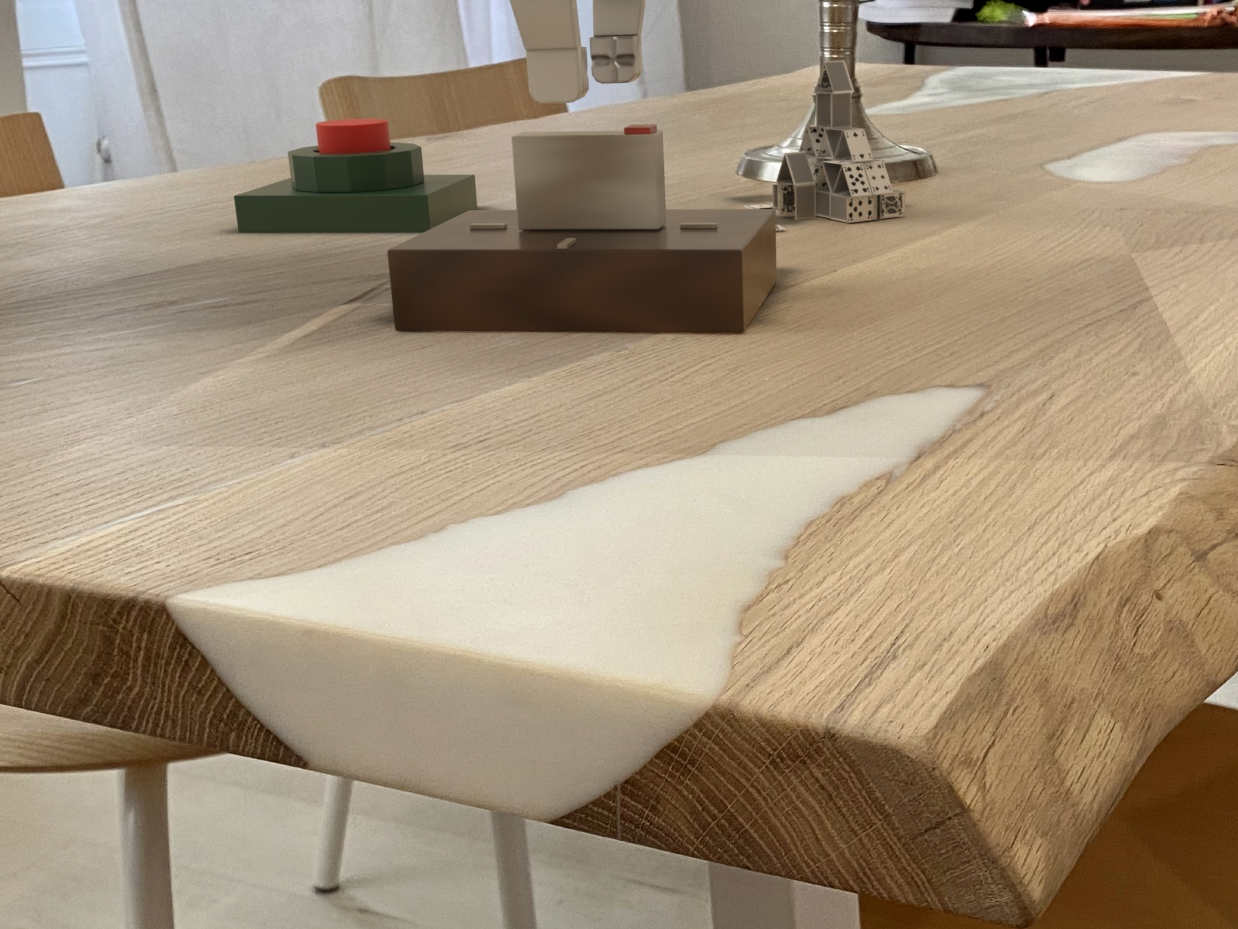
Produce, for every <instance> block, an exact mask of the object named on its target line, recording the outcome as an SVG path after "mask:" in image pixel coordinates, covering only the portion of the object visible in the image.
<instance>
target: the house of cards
mask: <svg viewBox="0 0 1238 929" xmlns="http://www.w3.org/2000/svg"><path fill="white" fill-rule="evenodd" d="M854 92H855V90H854V87H853V83H852V80H851V77H850V74H849V71H848V67H847V64H846V60H845V59H839V60H824V61H823V63H822V67H821V70H820V74H819V76H818V80H817V83H816V87H815V90H814V93H815V124H810V125H806V127H805V130H804V134H803V137H802V140H801V143H800V146H799V150H798V151H792V152H791V151H790V152H784V154H783V156H782V161H781V164H780V167H779V171H778V173H777V178H776V183H774V184H772V203H764V204H749V205H748V204H747V205H743V207H744V208H745V209H770V208H772V209H774V210H775V209H777V210H779V217H790V216H794V220H795V221H796V220H802V219H803V220H805V219H814V218H816V217H821V218H827V219H829V220H834V221H839V222H843V223H846V224H850V223H858V222H859V223H860V222H867V221H878V220H882V219H888V218H889V219H890V218H898V217H899V218H900V217H905V216H906V190H901V189H895V188H893V186H892V183H891V180H890V176H889V174H888V170H887V166H886V164H885V160H884V159H876V158H874V156H873V153H872V150H871V146H870V143H869V140H868V137H867V134H866V131H865V130H866V129H865V128H861V127H852V93H854ZM776 231H787V229H786V228H785V227H783V226H782V225H780V224H776Z"/></svg>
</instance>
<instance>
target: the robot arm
mask: <svg viewBox="0 0 1238 929" xmlns="http://www.w3.org/2000/svg"><path fill="white" fill-rule="evenodd" d="M646 1H647V0H592V34H593V35H592V36H590V37H589V53H590V60H591V64H590V69H591V76H592V78H593V79H594V81H595V82H596V83H599V84H601V85H602V84H604V85H608V84H629V83H633V82H635V81H636V80H638V79H639V78H641V75H642V73H643V55H642V54H643V53H642V31H643V24H644V15H645V8H646ZM509 3H510V7H511V9H512V12H513V16H514V19H515V23H516V26H517V29H518V32H519V35H520V38H521V41H522V42H521V43H522V45H523V49H524V50H525V57H526V58H525V59H526V69H527V70H526V71H527V81H528V93H529V94H530V97H531V99H532V100H533V101H535V102H537V103H539V104H571V103H575V102H577V101H578V100H581V99H583V98H584V97H586V95H587V93H588V91H589V90H590V84H589V82H590V81H589V75H588V67H589V66H588V52H587V50H588V49H587V46H582V38H581V29H580V20H579V12H578V11H579V10H578V3H577V0H509Z"/></svg>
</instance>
